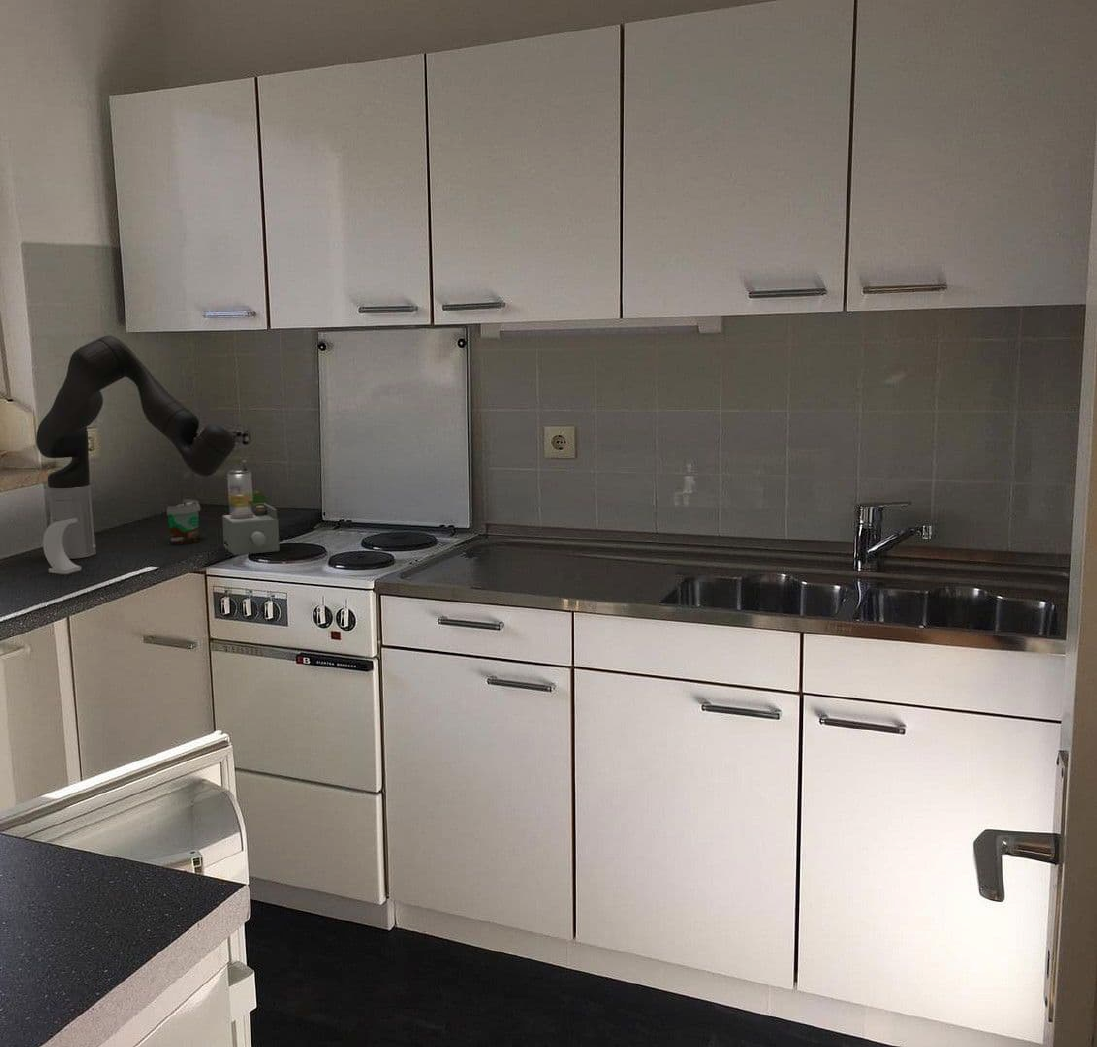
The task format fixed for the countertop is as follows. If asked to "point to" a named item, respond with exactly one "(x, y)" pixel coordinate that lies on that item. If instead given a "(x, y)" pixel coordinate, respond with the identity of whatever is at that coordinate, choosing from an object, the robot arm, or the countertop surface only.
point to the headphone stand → (58, 548)
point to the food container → (183, 521)
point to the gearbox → (252, 531)
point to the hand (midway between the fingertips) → (219, 435)
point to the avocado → (259, 497)
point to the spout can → (240, 493)
